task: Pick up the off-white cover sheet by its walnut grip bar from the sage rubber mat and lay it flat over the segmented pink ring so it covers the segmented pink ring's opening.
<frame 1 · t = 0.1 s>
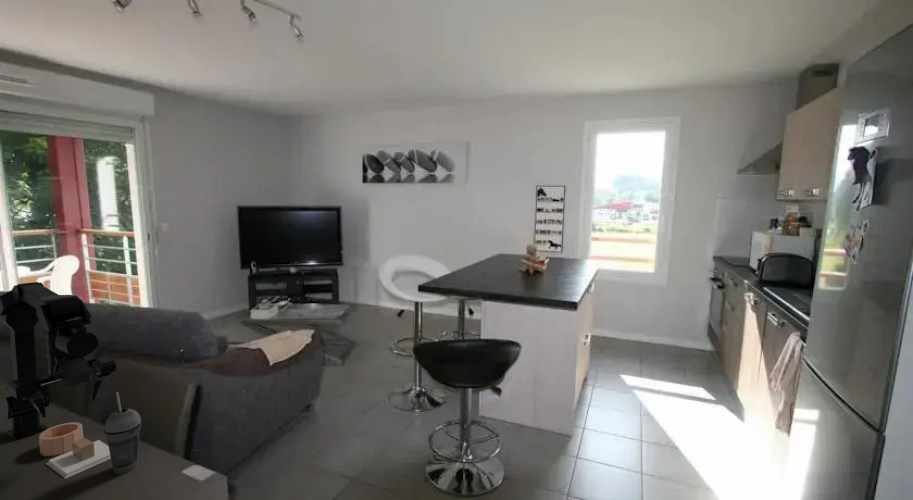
hand: (69, 408, 100), 15 cm above the table, tool pointing down, fingers open, 9 cm apart
segmented pink ring: (62, 448, 108), on the table
mat: (84, 460, 103), on the table
cover sheet: (84, 458, 103), resting on mat
beverage cup: (126, 470, 100), on the table
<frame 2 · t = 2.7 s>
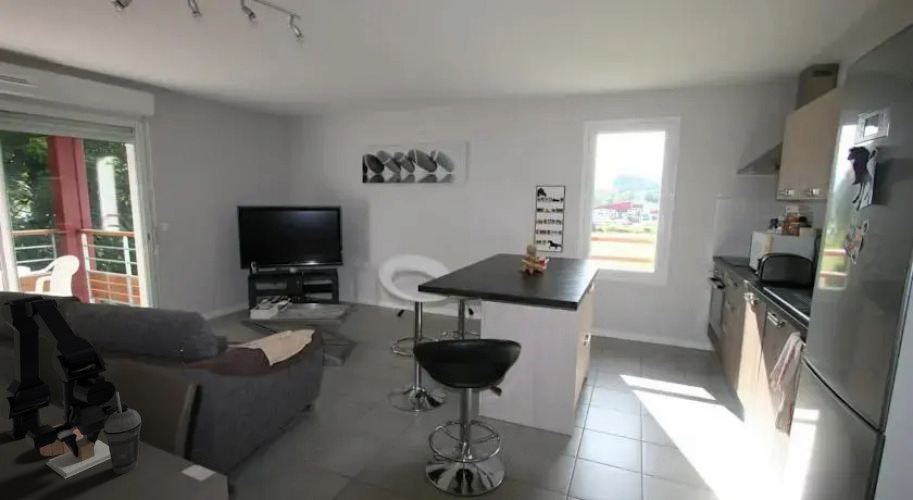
hand: (83, 453, 103), 2 cm above the table, tool pointing down, fingers closed on cover sheet, 2 cm apart
cover sheet: (84, 458, 103), resting on mat, touching gripper
everything else where it was.
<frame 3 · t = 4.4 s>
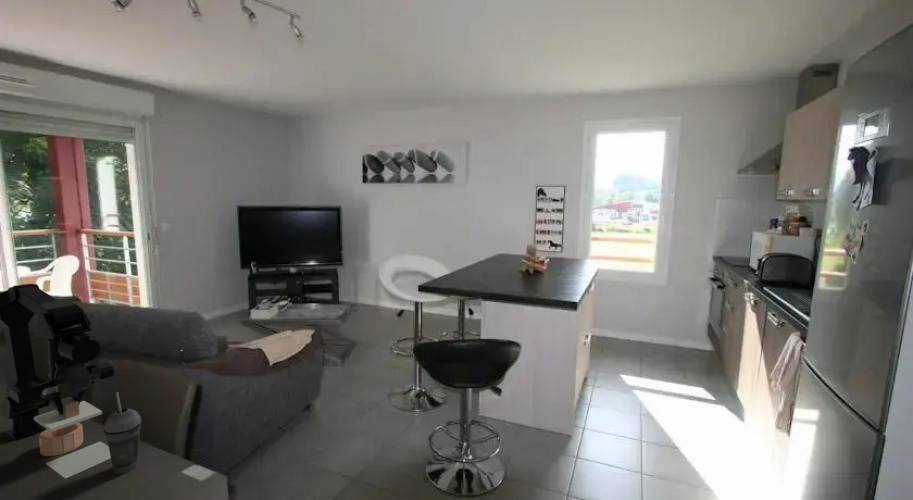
hand: (68, 412, 104), 11 cm above the table, tool pointing down, fingers closed on cover sheet, 2 cm apart
cover sheet: (68, 416, 105), point 10 cm above the table, touching gripper
everything else where it was.
when the fingers open (8 cm above the table, at t = 6.1 s): cover sheet drops 1 cm, resting on segmented pink ring.
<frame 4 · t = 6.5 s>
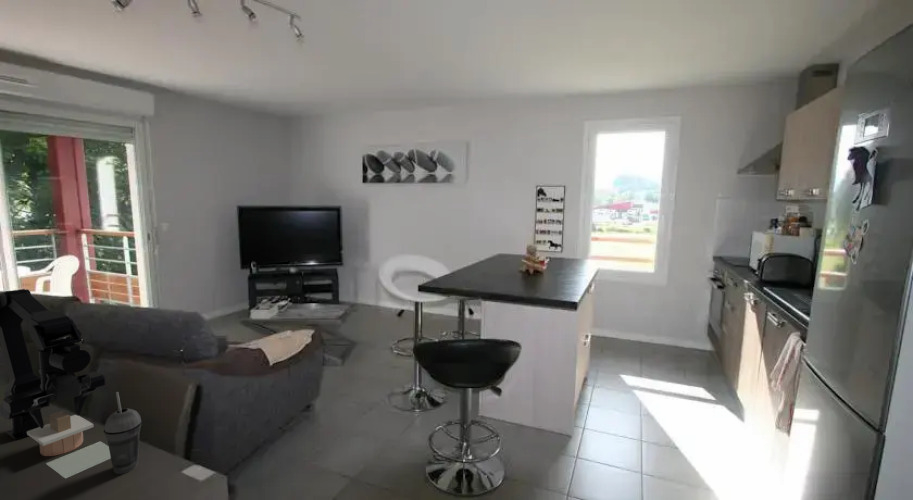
hand: (60, 421, 107), 8 cm above the table, tool pointing down, fingers open, 7 cm apart
cover sheet: (60, 430, 107), point 5 cm above the table, touching segmented pink ring
everything else where it was.
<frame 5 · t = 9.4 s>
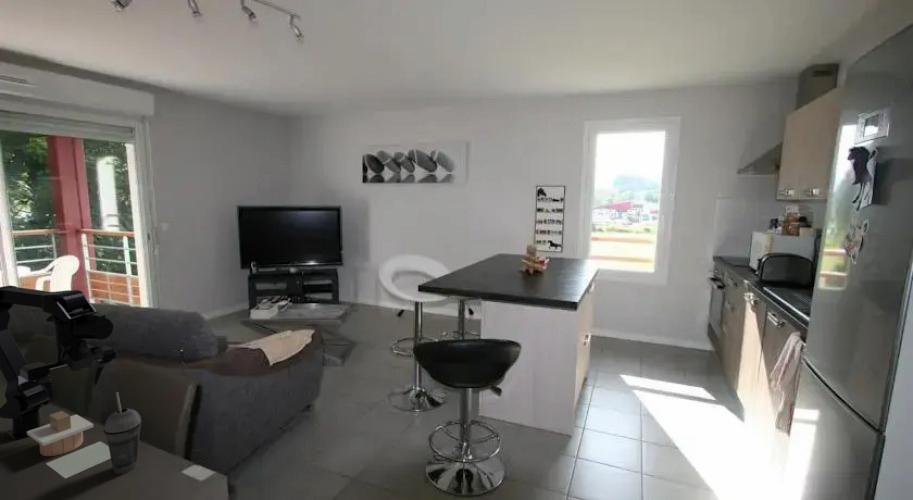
hand: (74, 391, 112), 13 cm above the table, tool pointing down, fingers open, 9 cm apart
nothing on the table moved.
at the end: cover sheet 0.0 cm off-centre on the segmented pink ring, point 5.0 cm above the segmented pink ring's base; cover sheet tilted 0°; the gripper is holding nothing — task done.
